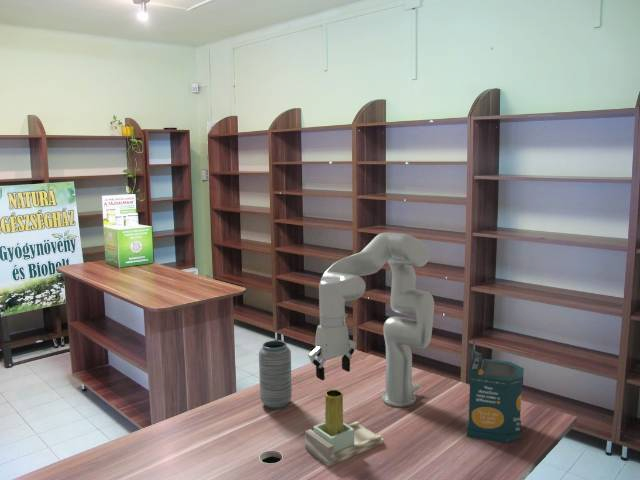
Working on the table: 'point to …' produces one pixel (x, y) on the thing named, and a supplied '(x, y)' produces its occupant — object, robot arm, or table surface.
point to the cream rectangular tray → (361, 443)
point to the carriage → (337, 437)
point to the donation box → (494, 399)
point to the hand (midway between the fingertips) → (333, 374)
